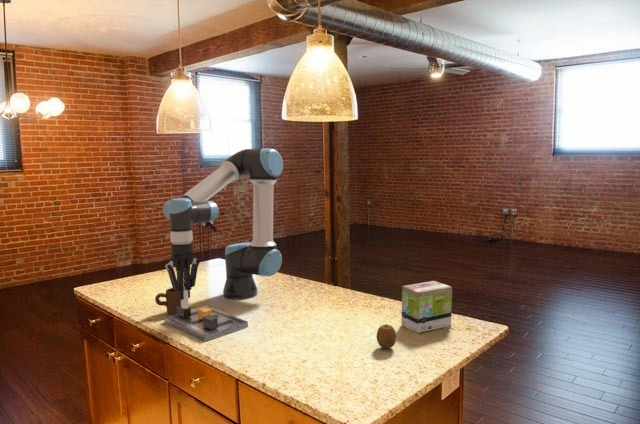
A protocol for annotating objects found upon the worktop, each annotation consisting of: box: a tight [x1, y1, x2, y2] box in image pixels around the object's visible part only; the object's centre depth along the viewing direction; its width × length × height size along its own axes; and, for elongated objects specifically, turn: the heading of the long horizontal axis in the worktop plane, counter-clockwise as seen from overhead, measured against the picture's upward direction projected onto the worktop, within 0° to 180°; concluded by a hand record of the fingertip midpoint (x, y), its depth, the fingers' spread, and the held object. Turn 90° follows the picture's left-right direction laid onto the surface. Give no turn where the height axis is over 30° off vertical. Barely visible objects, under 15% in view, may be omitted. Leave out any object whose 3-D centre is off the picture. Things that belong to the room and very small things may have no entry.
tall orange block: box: [197, 307, 212, 320], centre depth 174 cm, size 3×5×4 cm, turn 46°
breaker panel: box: [163, 305, 249, 343], centre depth 174 cm, size 18×28×6 cm, turn 46°
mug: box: [154, 287, 185, 316], centre depth 187 cm, size 12×8×9 cm, turn 128°
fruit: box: [376, 323, 397, 350], centre depth 149 cm, size 6×6×8 cm
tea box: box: [400, 280, 453, 334], centre depth 167 cm, size 15×10×15 cm, turn 117°
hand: (184, 307), depth 168 cm, fingers closed
